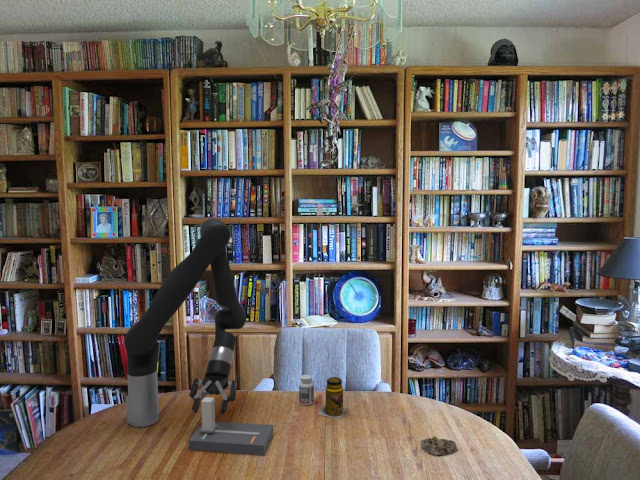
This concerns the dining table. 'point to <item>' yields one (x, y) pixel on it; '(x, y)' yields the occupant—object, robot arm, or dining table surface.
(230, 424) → the console
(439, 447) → the mineral rock
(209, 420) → the fader tab
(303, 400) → the pill bottle
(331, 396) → the condiment
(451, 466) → the dining table surface
